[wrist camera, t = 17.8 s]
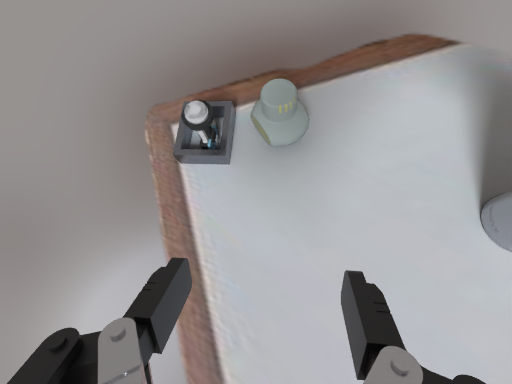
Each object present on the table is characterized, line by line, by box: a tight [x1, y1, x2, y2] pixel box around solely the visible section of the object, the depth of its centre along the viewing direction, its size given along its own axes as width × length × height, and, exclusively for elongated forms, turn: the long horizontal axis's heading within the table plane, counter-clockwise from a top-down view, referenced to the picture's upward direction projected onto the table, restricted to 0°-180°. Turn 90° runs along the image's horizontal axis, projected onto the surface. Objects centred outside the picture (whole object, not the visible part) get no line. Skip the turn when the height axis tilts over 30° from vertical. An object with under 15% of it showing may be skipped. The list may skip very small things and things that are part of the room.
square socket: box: [173, 101, 236, 164], centre depth 48 cm, size 10×12×4 cm
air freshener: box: [251, 79, 309, 146], centre depth 44 cm, size 11×8×10 cm
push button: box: [181, 100, 219, 150], centre depth 45 cm, size 7×5×10 cm
